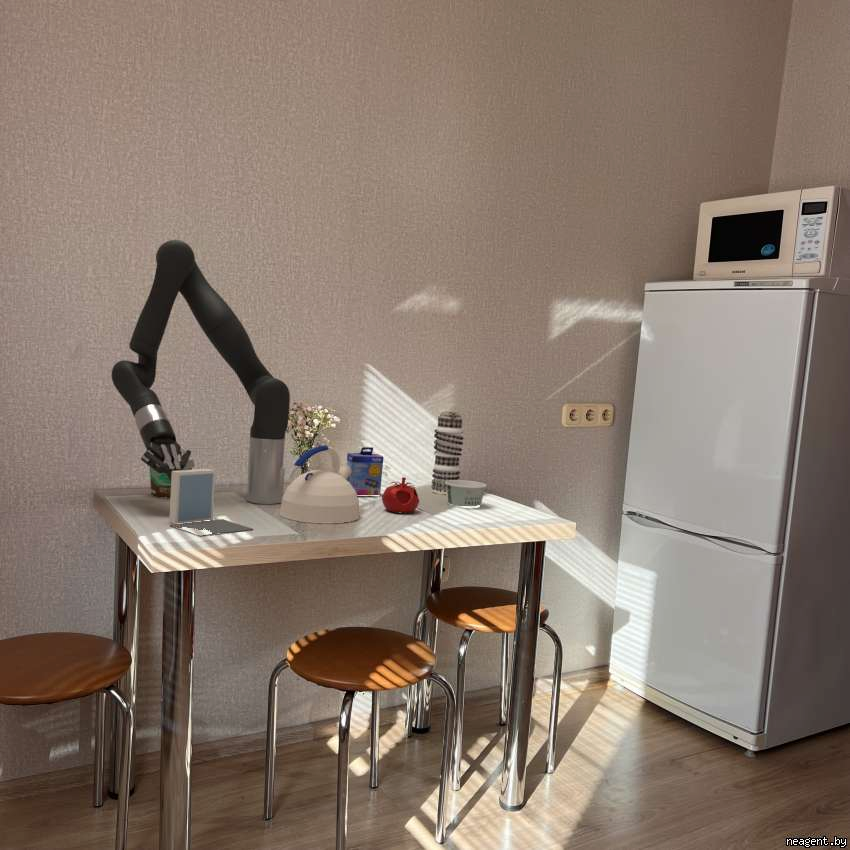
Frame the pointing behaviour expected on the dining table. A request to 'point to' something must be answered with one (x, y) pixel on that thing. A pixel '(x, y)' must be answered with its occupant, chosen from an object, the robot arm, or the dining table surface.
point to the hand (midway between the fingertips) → (179, 485)
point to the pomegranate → (400, 497)
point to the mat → (215, 526)
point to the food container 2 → (465, 492)
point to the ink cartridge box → (365, 471)
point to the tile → (192, 495)
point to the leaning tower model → (447, 450)
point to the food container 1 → (164, 481)
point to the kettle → (321, 493)
